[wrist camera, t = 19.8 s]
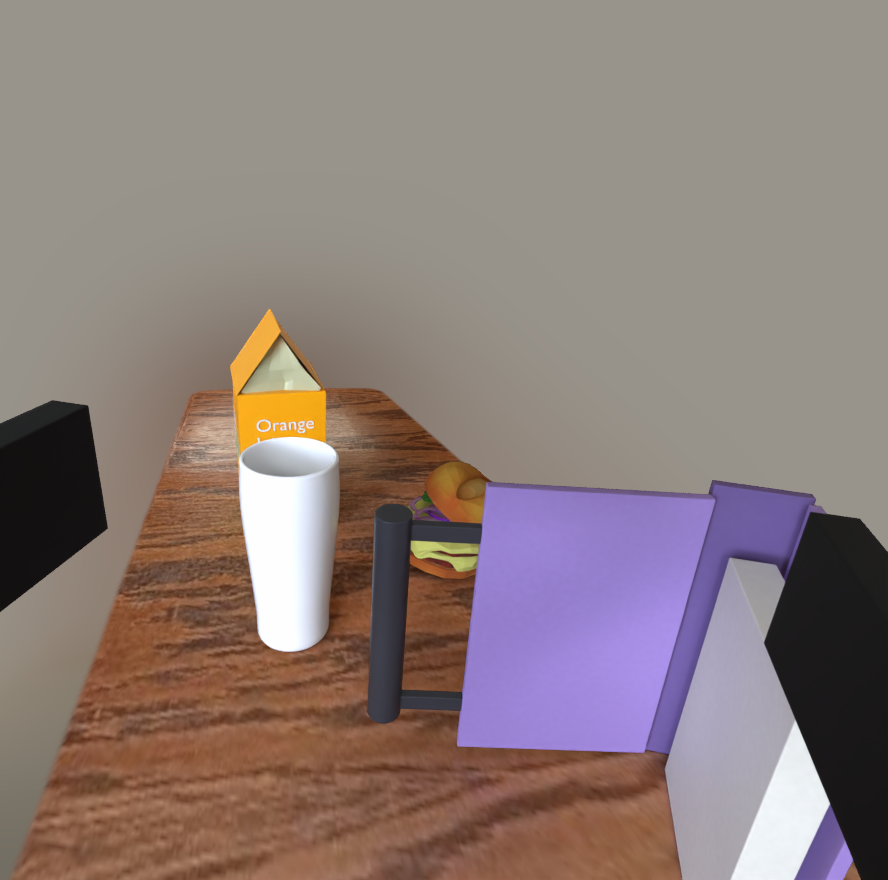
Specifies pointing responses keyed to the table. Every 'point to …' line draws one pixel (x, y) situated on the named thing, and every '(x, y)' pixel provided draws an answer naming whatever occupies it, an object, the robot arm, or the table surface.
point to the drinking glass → (290, 536)
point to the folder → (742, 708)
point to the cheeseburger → (449, 519)
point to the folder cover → (549, 613)
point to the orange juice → (275, 389)
